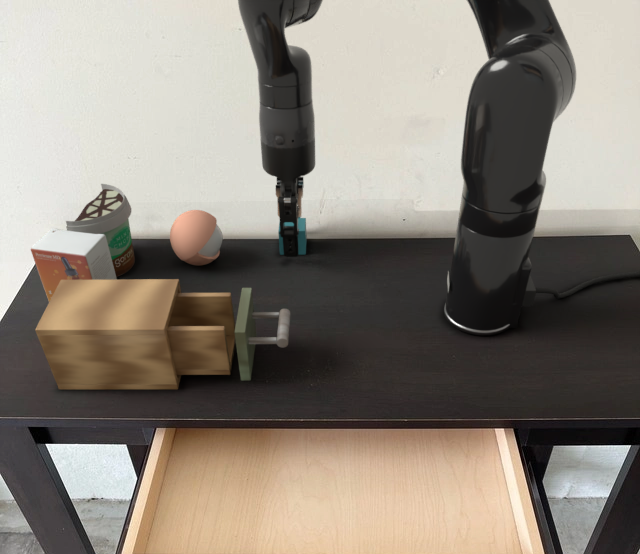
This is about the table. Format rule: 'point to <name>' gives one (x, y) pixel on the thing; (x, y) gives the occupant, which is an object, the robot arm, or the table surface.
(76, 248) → the small box
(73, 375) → the wooden drawer cabinet
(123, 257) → the food container
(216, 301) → the wooden drawer
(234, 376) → the table surface
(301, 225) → the block
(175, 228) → the toy ball
